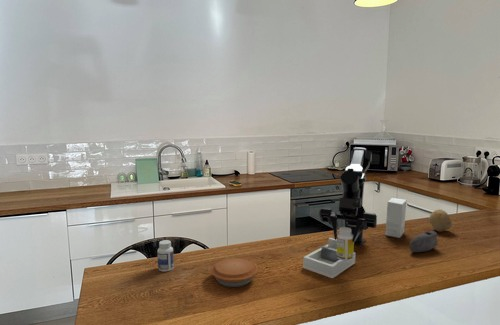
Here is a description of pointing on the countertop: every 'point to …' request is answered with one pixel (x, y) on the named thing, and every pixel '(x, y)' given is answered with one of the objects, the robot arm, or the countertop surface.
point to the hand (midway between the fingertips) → (344, 240)
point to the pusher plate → (329, 254)
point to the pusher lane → (326, 262)
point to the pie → (234, 272)
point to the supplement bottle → (345, 244)
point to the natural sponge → (440, 220)
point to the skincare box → (395, 217)
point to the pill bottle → (165, 256)
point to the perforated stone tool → (424, 242)
